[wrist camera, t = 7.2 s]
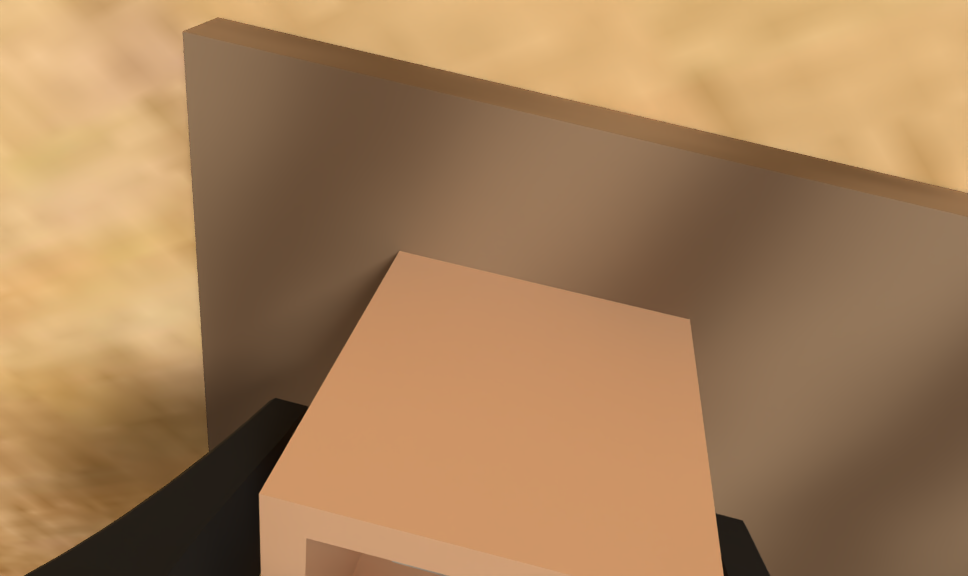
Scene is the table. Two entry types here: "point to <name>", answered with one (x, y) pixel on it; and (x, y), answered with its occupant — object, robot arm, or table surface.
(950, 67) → the table surface
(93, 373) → the table surface
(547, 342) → the duct sleeve
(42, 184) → the table surface
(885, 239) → the duct board
